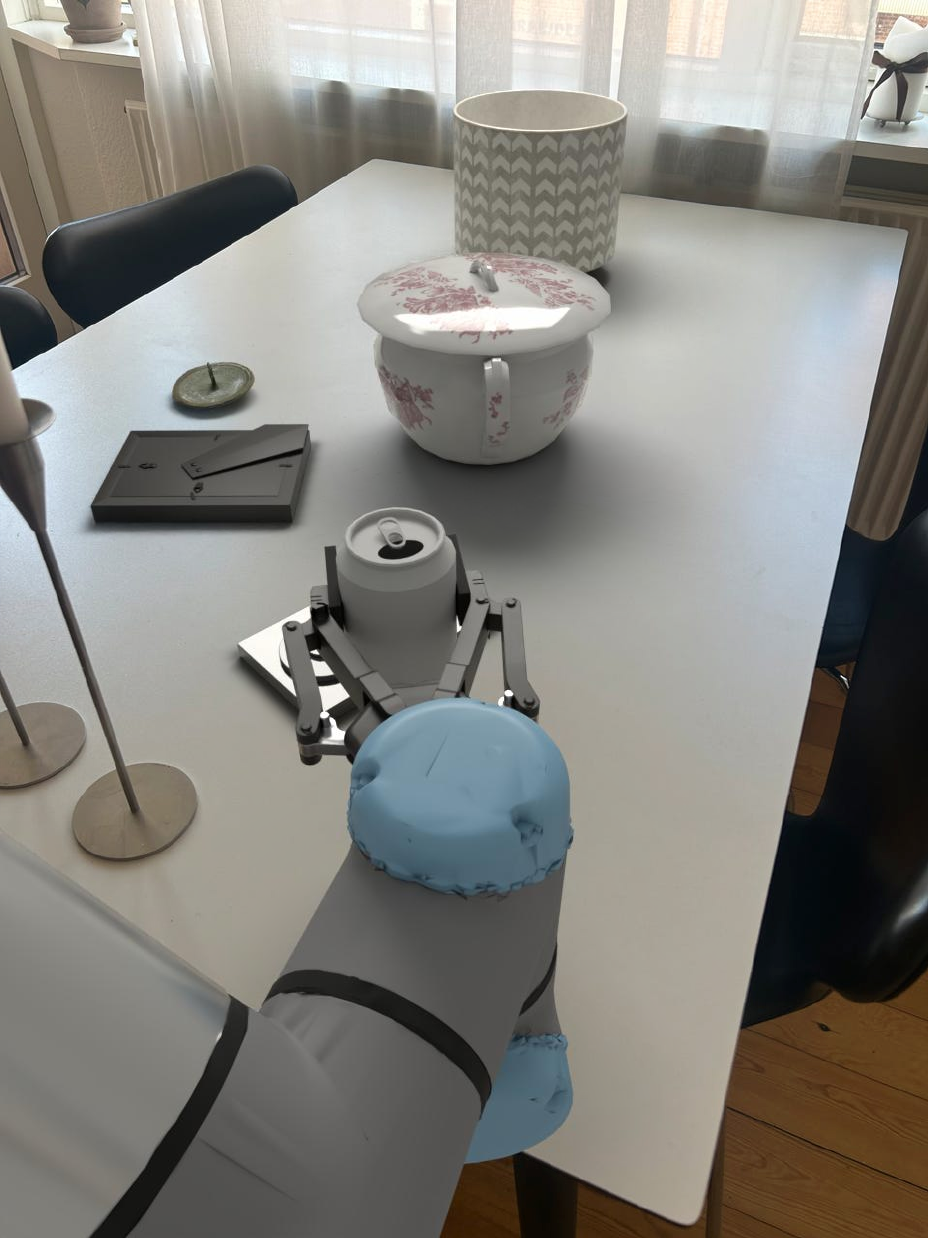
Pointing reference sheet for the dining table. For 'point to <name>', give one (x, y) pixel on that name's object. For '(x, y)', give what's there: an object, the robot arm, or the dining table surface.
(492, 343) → the chamber pot
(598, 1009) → the dining table surface
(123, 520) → the picture frame
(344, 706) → the hob
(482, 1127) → the robot arm
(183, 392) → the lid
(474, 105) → the planter
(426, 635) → the can
